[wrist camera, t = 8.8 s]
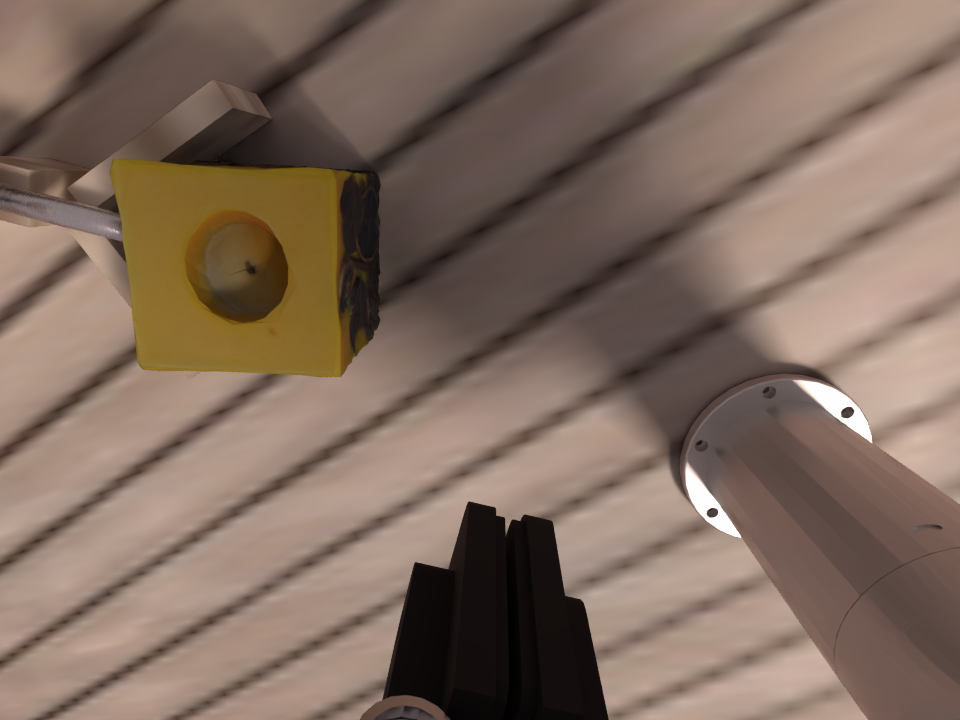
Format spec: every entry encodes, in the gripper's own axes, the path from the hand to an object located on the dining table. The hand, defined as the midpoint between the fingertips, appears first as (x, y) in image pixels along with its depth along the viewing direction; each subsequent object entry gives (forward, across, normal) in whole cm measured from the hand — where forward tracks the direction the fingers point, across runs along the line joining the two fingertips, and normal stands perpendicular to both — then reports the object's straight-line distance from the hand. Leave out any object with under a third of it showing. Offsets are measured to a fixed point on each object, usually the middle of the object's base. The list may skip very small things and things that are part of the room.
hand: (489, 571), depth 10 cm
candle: (+26, +12, 0) cm, 28 cm away
